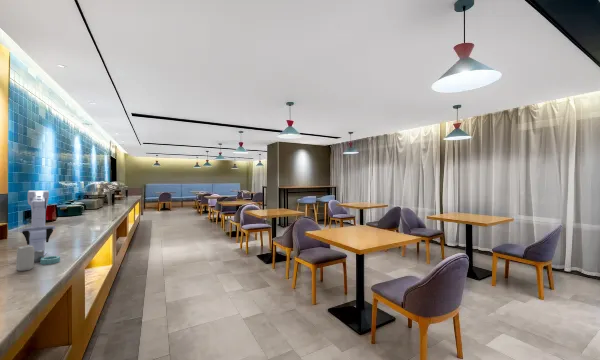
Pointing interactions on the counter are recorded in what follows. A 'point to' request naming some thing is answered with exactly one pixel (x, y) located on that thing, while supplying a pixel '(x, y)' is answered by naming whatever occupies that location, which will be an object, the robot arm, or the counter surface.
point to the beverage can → (25, 258)
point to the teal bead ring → (50, 260)
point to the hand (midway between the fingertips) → (37, 243)
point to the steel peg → (38, 255)
